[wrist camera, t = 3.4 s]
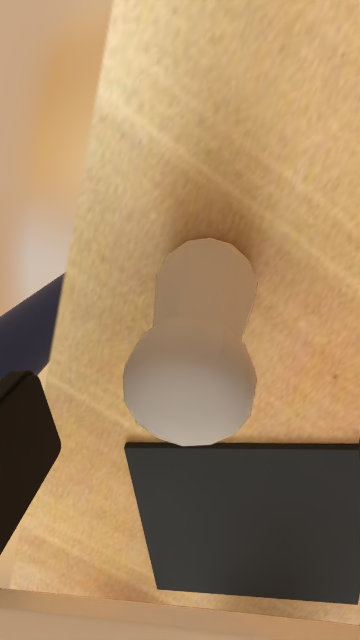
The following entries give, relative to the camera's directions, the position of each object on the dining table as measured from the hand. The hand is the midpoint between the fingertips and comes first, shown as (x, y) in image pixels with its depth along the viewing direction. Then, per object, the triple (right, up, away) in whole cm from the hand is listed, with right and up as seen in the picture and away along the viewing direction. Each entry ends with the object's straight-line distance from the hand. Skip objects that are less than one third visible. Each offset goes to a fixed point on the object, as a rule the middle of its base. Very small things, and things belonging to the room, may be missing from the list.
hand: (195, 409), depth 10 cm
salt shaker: (+1, +5, +12) cm, 13 cm away
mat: (+6, -16, +21) cm, 28 cm away
